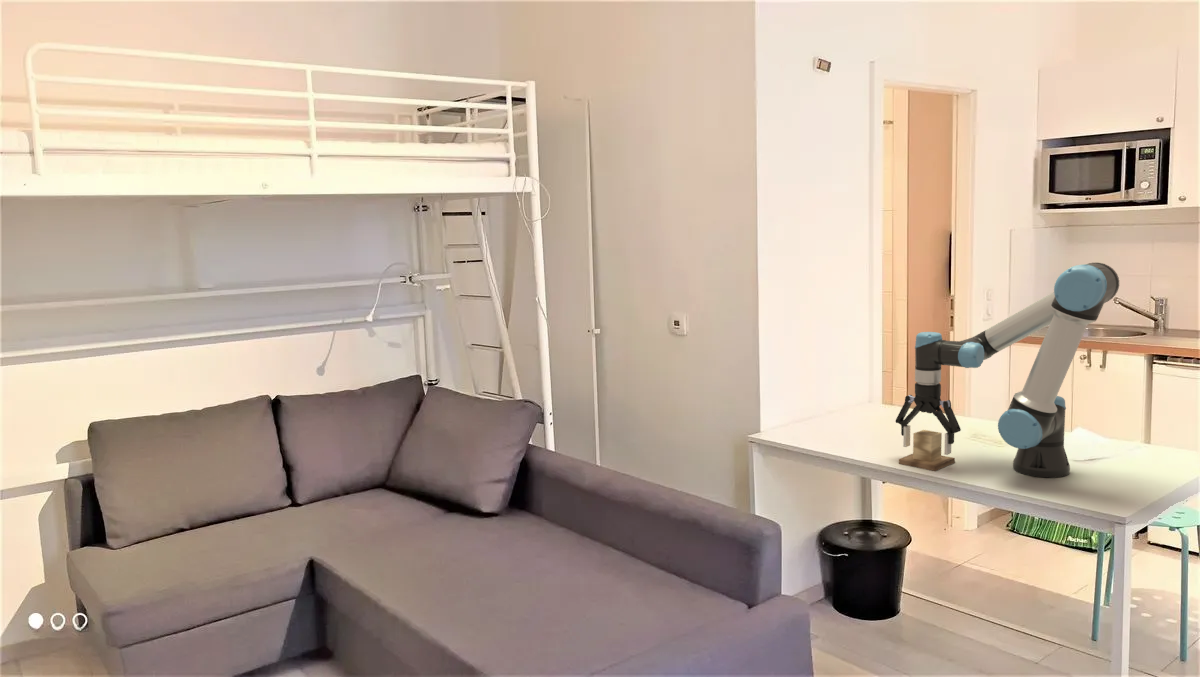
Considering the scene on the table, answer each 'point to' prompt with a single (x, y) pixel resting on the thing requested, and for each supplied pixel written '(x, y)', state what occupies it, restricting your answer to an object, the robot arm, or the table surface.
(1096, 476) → the table surface
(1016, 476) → the table surface
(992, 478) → the table surface
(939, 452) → the oak block
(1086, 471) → the table surface
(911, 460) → the walnut board
